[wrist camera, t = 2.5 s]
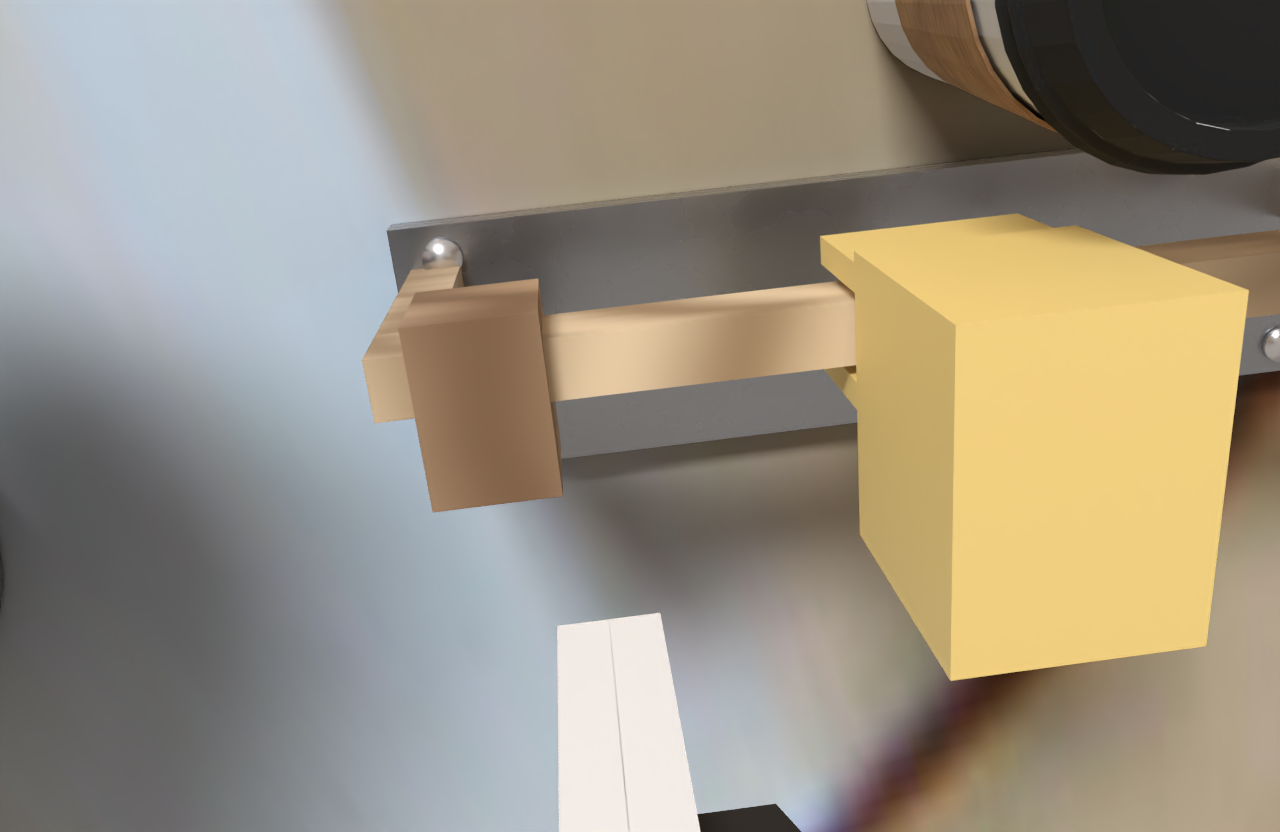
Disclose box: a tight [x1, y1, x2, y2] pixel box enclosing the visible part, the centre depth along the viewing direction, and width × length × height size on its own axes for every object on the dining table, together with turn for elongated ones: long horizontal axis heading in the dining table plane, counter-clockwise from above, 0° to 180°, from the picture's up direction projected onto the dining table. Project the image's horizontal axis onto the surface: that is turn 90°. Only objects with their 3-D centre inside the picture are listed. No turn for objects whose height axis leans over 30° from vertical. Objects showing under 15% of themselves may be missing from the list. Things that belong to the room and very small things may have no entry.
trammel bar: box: [362, 230, 1280, 512], centre depth 28 cm, size 29×5×10 cm, turn 96°
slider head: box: [820, 213, 1249, 681], centre depth 25 cm, size 5×7×15 cm
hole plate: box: [387, 148, 1280, 459], centre depth 33 cm, size 30×8×1 cm, turn 96°
